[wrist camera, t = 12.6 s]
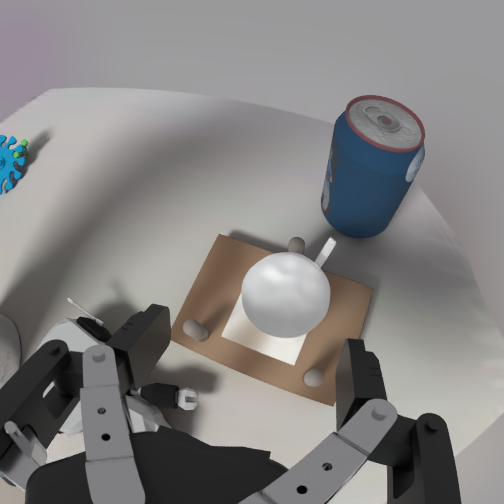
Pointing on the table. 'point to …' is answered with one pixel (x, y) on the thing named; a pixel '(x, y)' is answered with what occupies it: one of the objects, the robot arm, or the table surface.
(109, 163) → the table surface
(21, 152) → the gear
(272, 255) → the milkshake
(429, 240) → the table surface
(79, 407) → the robot toy
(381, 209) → the soda can
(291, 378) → the pin plate
